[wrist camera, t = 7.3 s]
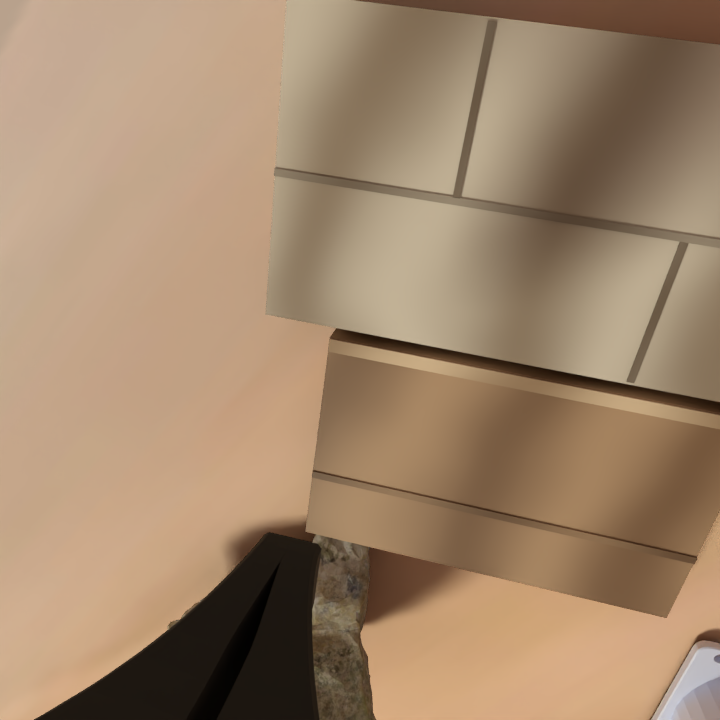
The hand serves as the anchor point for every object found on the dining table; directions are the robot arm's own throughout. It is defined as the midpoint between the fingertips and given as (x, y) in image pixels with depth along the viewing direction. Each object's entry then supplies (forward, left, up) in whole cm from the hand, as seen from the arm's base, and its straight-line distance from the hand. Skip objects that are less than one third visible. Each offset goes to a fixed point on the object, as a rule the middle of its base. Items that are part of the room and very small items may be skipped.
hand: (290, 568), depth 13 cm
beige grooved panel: (-6, -8, -10) cm, 14 cm away
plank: (-6, +2, -9) cm, 12 cm away
